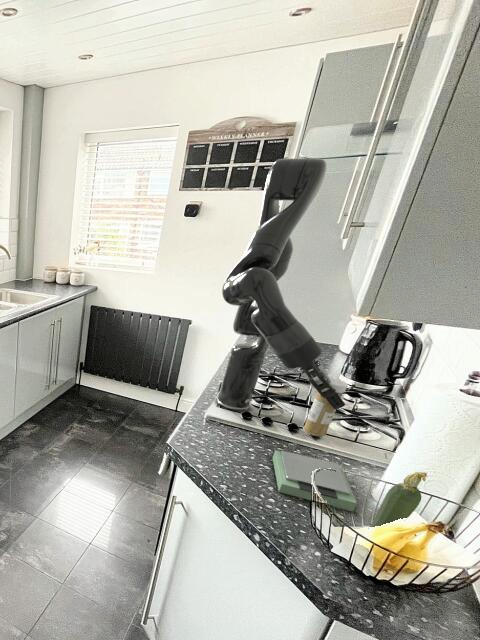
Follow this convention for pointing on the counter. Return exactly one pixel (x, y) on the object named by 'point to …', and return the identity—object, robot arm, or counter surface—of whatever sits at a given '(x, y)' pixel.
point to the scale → (305, 490)
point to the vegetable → (400, 500)
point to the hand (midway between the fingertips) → (337, 402)
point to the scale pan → (302, 467)
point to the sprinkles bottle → (323, 411)
